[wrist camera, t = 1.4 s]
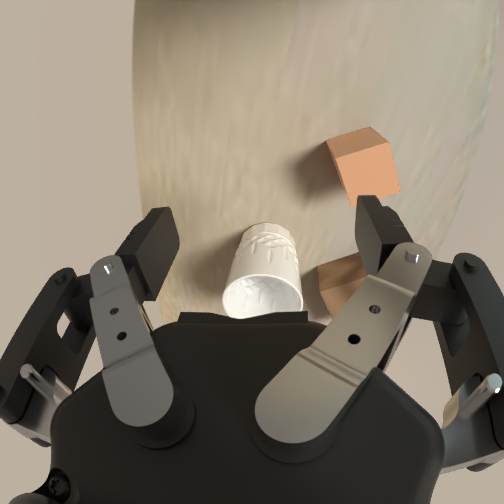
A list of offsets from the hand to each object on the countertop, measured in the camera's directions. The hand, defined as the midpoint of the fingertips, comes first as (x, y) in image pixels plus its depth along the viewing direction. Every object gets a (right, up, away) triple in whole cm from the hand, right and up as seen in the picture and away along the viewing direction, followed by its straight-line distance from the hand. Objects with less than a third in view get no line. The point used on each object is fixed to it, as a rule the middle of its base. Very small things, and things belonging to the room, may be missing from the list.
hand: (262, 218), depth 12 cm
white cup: (+2, -1, +24) cm, 24 cm away
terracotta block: (+10, +9, +16) cm, 21 cm away
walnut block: (+14, -5, +26) cm, 30 cm away
